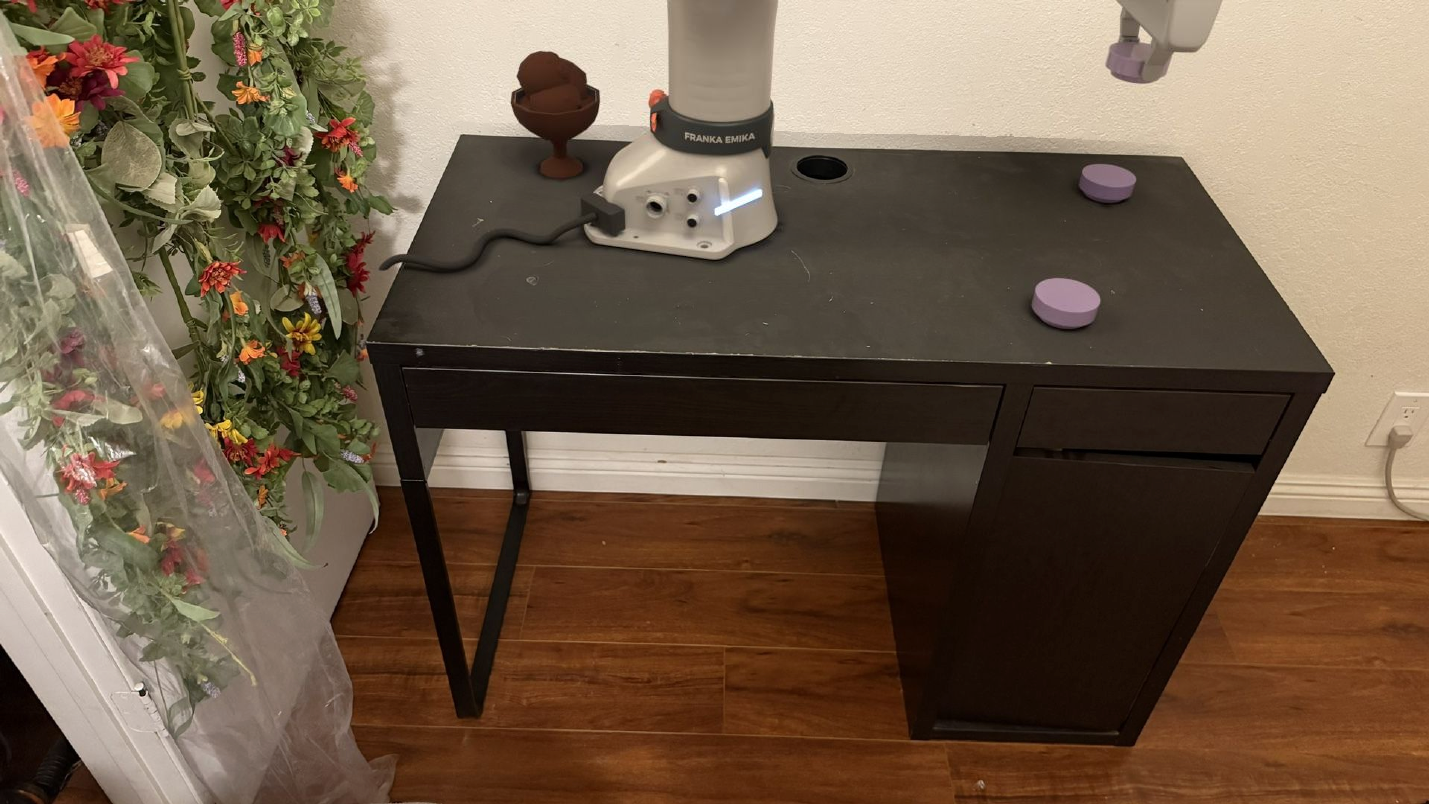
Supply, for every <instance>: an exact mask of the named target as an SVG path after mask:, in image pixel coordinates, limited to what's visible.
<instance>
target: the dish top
mask: <svg viewBox="0 0 1429 804" xmlns="http://www.w3.org/2000/svg"><path fill="white" fill-rule="evenodd" d="M1150 44H1151V43H1146V42H1118V41H1116V42H1114V43H1112V44H1110V45H1109V47H1108V49H1107V54H1106V57H1105V61H1104V66H1105V68H1106V69H1108V70H1109V71H1110V75H1111V76H1112V77H1113V78H1115V79H1117V80H1120V81H1123V82H1126V83H1132V84H1139V85H1146V84H1153V83H1155V81H1144V80H1143V79H1142V77H1141V76H1140V75H1139V69H1140V67H1141V62H1142V59H1146V58H1147V56H1148V54H1149V52H1150V50H1151V47H1150ZM1172 58H1173V55H1172V56H1171V57H1170V58H1169V60H1168V61H1167V62H1166V64H1165V65H1164V67H1163V70H1162V73H1161V76H1160V78H1159V79H1161V78H1163V77H1165V76H1166V75H1167V73H1168V70H1169V68H1170V65H1171V61H1172Z"/></svg>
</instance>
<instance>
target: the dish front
mask: <svg viewBox="0 0 1429 804" xmlns="http://www.w3.org/2000/svg"><path fill="white" fill-rule="evenodd" d="M1100 305H1101V297H1100V294H1099V293H1098V292H1097V291H1096V290H1095V289H1094V288H1093V287H1091V286H1090V285H1088V284H1086V283H1084V282H1081V281H1078V280H1074V279H1070V278H1064V277H1054V278H1052V277H1051V278H1047V279H1044V280H1042V281H1040V282H1039V283H1038V284H1036V286H1035V288H1034V292H1033V295H1032V300H1031V308H1032V310H1033V312H1034V313H1035V314H1036V315H1037V316H1038V317H1039V318H1040V319H1041V321H1042V322H1044V323H1045V324H1047V325H1049V326H1051V327H1054V328H1058V329H1062V330H1063V329H1064V330H1075V329H1079V328H1081V327H1084V326H1087V325H1089V324H1091V323H1092V322H1094V321H1095V320H1096V317H1097V315H1098V311H1099V308H1100Z"/></svg>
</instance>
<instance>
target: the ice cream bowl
mask: <svg viewBox="0 0 1429 804" xmlns="http://www.w3.org/2000/svg"><path fill="white" fill-rule="evenodd" d="M515 77H516V79H517V81H518V83H519V86H520V87H519V88H517V89H514V90H512V91H511V96H510V106H511V110H512V112H513V115H514V117H515V119H516V120H517V122H518V124H519V125H521V127H523V128H524V129H526V130H527V132H530V133H531V134H533V135H535V136H536V137H539V138H540V139H543V140H544V141H548V142H550V143H551V145H552V151H553V152H552V153H553V155H551V156H550V157H548V158H547V159H545V160H543V161H542V162H540V171H539V172H540V174H542V175H543V176H546V177H548V178H553V179H567V178H573V177H576V176H577V175H579V174H581V173H582V172H583V170H584V169H583V166H584V165H583V163H582V161H581V160H579V159H578V158H576V157H574V156H572V155H569V154H568V149H567V144H568V141H571V140H573V139H574V138H576V137H578V136H579V135H581V134H582V133H583V132H586V131H587V130H588V129H589V128H590V127H591V126H592V125H594V123H595V122H596V119H597V118H598V114H599V112H600V111H599V110H600V105H601V93H600V89H598V88H596V87H594V86H593V85H590V84H588V77H587V73H586V72H585V71H584V70H583V69H582V68H581V67H579V66H578V65H577V64H575V63H574V62H573V61H571V60H568V59H566V58H563V57H560V56H559V55H558V53H556V52H553V51H550V50H549V51H545V50H539V51H534V52H531V53H529V55H527V56H526V57H525V58H524V59H523V60H522V61H521V62H520V63H519V66H518V71H517V73H516V76H515Z"/></svg>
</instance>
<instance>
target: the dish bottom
mask: <svg viewBox="0 0 1429 804" xmlns="http://www.w3.org/2000/svg"><path fill="white" fill-rule="evenodd" d="M1136 182H1137V177H1136V176H1135V174H1134V173H1132V172H1131V171H1130V170H1128V169H1127V168H1124V167H1121V166H1117V165H1114V164H1107V163H1094V164H1093V163H1092V164H1089V165H1086V166H1085V167H1083V168H1082V170H1081V174H1080V177H1079V181H1078V187H1079V189H1080V190H1081V191H1082V192H1083V194H1084V195H1085V197H1087V198H1089V199H1090V200H1093V201H1095V202H1098V203H1104V204H1116V203H1120V202H1121V201H1123V200H1127V199H1128V198H1130V197H1131V196H1132V195H1133V192H1134V189H1135V186H1136V184H1137V183H1136Z"/></svg>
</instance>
